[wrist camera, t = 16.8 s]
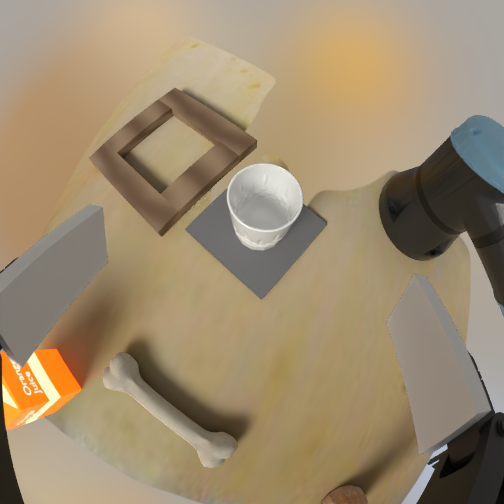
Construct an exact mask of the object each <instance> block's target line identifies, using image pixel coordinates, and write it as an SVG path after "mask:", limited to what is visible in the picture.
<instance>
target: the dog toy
mask: <svg viewBox="0 0 504 504" xmlns="http://www.w3.org/2000/svg"><path fill="white" fill-rule="evenodd" d="M103 381H104V385H105V387H106V388H108V389H111V390H115V391H123V392H125V393H127V394H128V395H130V396H131V397H132V398H134V399H135V400H136V401H138V402H139V403H140V404H141V405H142V406H143V407H144V408H146V409H147V410H148V411H149V412H150V413H151V414H153V415H154V416H155V417H156V418H158V419H159V420H160V421H161V422H163V423H164V424H165V425H166V426H168V427H169V428H170V429H171V430H173V431H174V432H175V433H177V434H178V435H179V436H181V437H182V438H184V439H185V440H186V441H187V442H189V443H190V444H191V445H192V446H193V447H194V448H195V449H196V450H197V452H198V456H199V458H200V461H201V462H202V464H203V466H205V467H218V466H220V465H222V464H223V463H224V460H225V459H226V458H229V457H231V456H232V453H233V452H235V451H236V450H237V447H238V443H237V441H236V440H235V439H234V438H233V437H232V436H231V435H229V434H227V433H225V432H209V431H206V430H205V429H203V428H202V427H200V426H199V425H197V424H196V423H195V422H193V421H192V420H191V419H189V418H188V417H187V416H185V415H184V414H183V413H181V412H180V411H179V410H178V409H176V408H175V407H174V406H172V405H171V404H170V403H169V402H168V401H166V400H165V399H164V398H163V397H162V396H160V395H159V394H158V393H157V392H156V391H154V390H153V389H152V388H151V387H150V386H149V385H148V384H147V383H145V382H144V381H143V380H142V378H141V376H140V374H139V366H138V363H137V362H136V360H135V359H134V358H133V357H132V356H130V355H129V354H127V353H124V352H119V353H118V354H117V355H116V356H115V357H114V359H112V360H111V361H110V366H109V367H106V369H105V370H104V372H103Z"/></svg>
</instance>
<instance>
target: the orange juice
mask: <svg viewBox="0 0 504 504" xmlns="http://www.w3.org/2000/svg"><path fill="white" fill-rule="evenodd" d="M0 354H1V356H2V388H3V405H4V415H5V424H6V430H9V429H12V428H15V427H18V426H20V425H23V424H27V423H29V422H32V421H34V420H36V419H38V418H41V417H44V416H46V415H49V414H51V413H54V412H56V411H57V410H58V409H59V408H61V407H62V406H63V405H64V404H65V403H66V402H68V401H69V400H70V399H71V398H72V397H73V396H75V395H76V394H77V393H78V392H79V391H80V390H82V389H81V387H80V386H79V384H78V383H77V381H76V380H75V378H74V377H73V375H72V374H71V372H70V371H69V369H68V367H67V366H66V364H65V363H64V361H63V359H62V358H61V356H60V354H59V352H58V351H57V349H50V350H37V351H34V353H33V354H32V355H31V357H30V358H29V360H28V361H27V363H26V364H25V366H24V367H23V368H21V367H20V366H19V365H17V364H16V363H14V362H13V361H12V360H10V359H9V357H8V356H7V354H6V353H5V352H0Z"/></svg>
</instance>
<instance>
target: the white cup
mask: <svg viewBox="0 0 504 504" xmlns="http://www.w3.org/2000/svg"><path fill="white" fill-rule="evenodd" d="M227 203H228V207H229V212H230V217H231V220H232V224H233V227H234V230H235V233H236V236H237V237H238V239H239V240H240V242H241V243H242V244H243V245H245V246H247V247H248V248H250V249H252V250H261V251H264V250H267V249H269V248H272V247H274V246H275V245H276V244H277V243H278V242H279V241H280V240H281V239H282V238H283V237H284V236H285V234H286V233H287V232H288V230H289V229H290V227H291V226H292V225H293V223H294V222H295V220H296V219H297V217H298V216H299V214H300V212H301V210H302V206H303V192H302V189H301V186H300V184H299V182H298V181H297V179H296V178H295V177H294V176H293V175H292V174H291V173H290V172H289V171H287V170H286V169H284V168H282V167H280V166H277V165H274V164H268V163H259V164H253V165H251V166H247V167H245V168H244V169H242V170H240V171H239V172H238V173H237V174H236V175H235V176H234V177H233V178H232V180H231V182H230V184H229V186H228V190H227Z"/></svg>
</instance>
